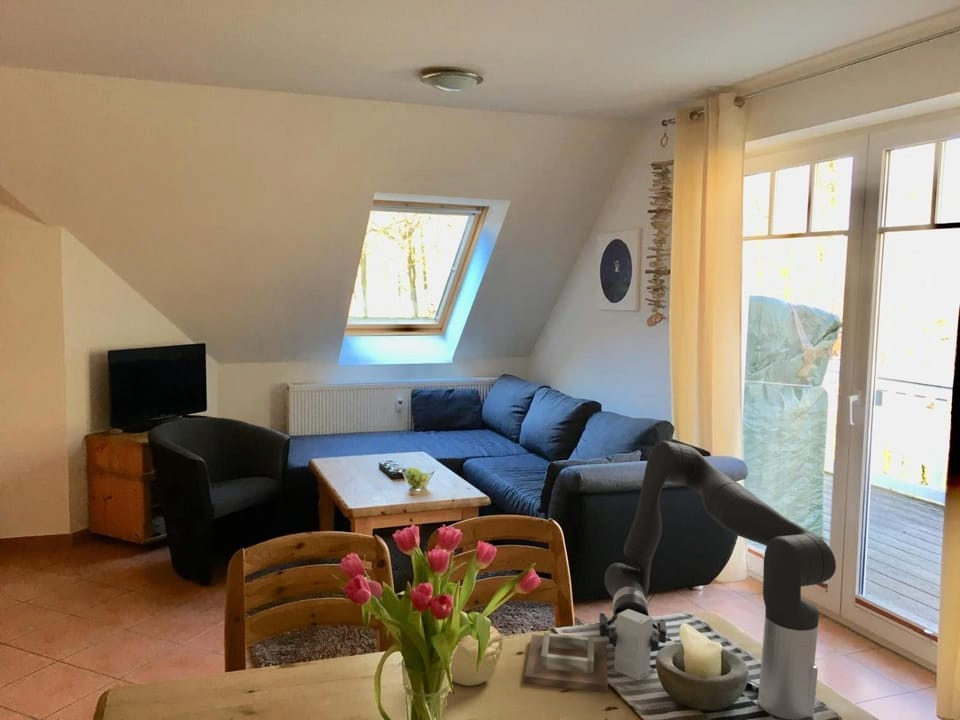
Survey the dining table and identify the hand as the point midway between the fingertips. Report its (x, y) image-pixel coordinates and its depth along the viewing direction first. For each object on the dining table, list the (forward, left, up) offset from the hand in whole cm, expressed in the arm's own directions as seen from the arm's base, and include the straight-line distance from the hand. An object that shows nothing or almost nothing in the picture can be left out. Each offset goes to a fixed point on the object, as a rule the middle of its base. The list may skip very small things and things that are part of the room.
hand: (634, 644), depth 155 cm
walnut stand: (+13, -2, -7) cm, 15 cm away
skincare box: (0, -2, -7) cm, 8 cm away
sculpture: (+32, +7, -7) cm, 34 cm away
